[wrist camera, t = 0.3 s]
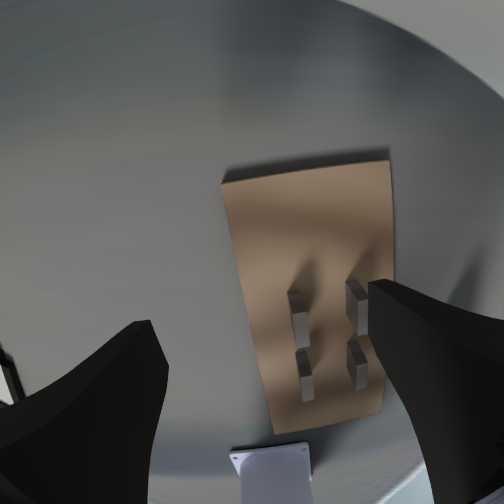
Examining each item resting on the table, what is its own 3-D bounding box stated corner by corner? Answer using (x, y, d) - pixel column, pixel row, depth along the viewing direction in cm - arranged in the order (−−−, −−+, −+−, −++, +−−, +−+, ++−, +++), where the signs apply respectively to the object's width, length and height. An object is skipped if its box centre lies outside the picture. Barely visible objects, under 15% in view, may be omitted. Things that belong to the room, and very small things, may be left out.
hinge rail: (377, 406, 25) (388, 432, 22) (274, 428, 25) (276, 456, 22) (383, 159, 17) (410, 164, 14) (221, 182, 18) (216, 192, 14)
